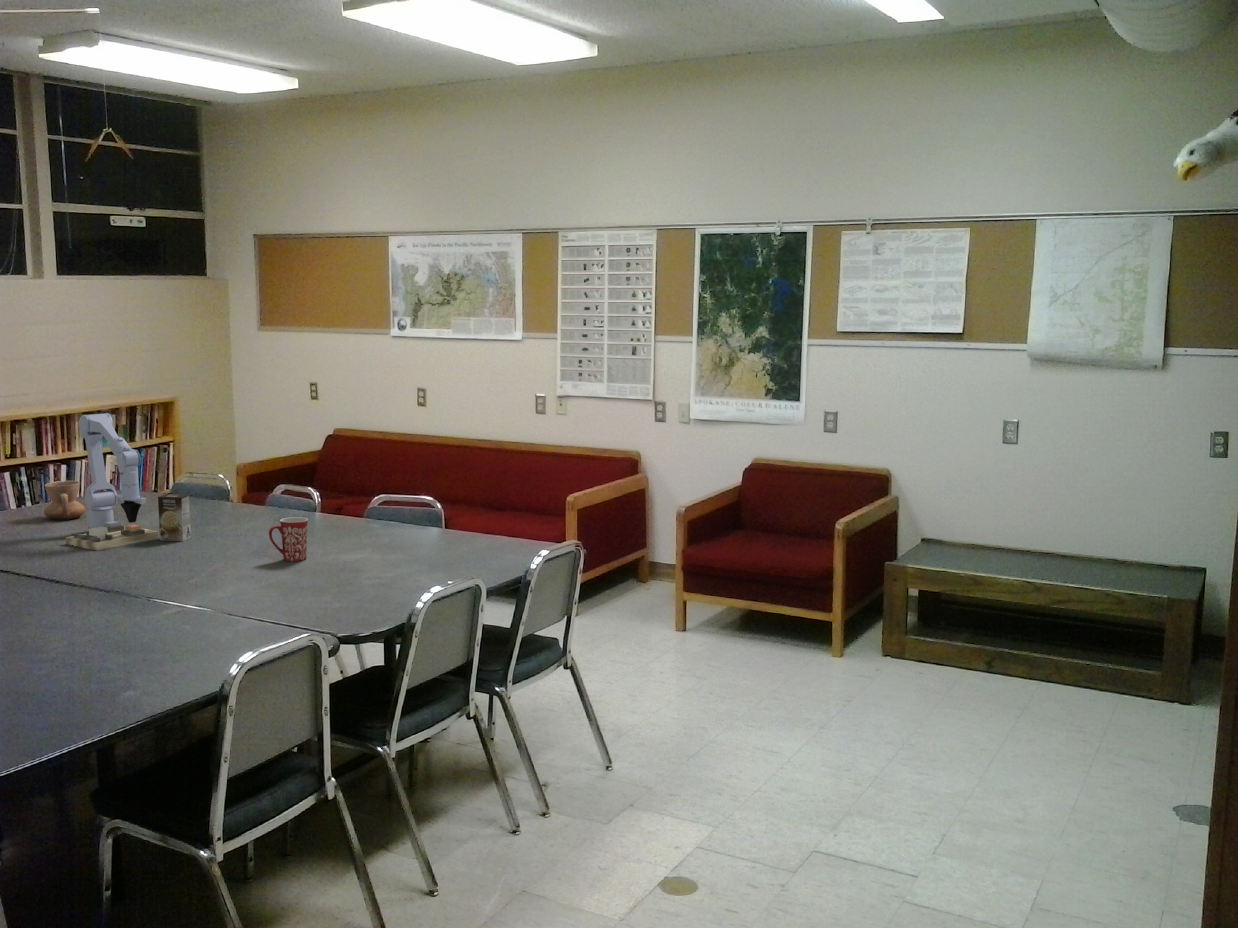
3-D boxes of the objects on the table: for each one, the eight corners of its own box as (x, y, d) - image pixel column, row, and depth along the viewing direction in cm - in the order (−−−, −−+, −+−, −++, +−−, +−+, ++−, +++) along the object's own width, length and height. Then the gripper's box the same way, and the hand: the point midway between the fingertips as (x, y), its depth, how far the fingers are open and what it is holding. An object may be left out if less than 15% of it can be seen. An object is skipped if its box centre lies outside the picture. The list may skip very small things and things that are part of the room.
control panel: (66, 544, 382) (65, 533, 381) (127, 532, 402) (126, 521, 402) (97, 550, 373) (96, 539, 372) (158, 537, 393) (157, 527, 392)
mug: (306, 555, 367) (305, 515, 366) (311, 560, 359) (310, 520, 357) (268, 558, 362) (266, 519, 360) (272, 564, 354) (270, 524, 352)
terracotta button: (125, 530, 387) (124, 526, 386) (134, 528, 390) (133, 524, 389) (131, 531, 385) (131, 527, 384) (140, 529, 388) (140, 525, 388)
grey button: (104, 526, 393) (104, 522, 392) (113, 524, 396) (113, 520, 396) (110, 527, 391) (110, 523, 391) (119, 526, 394) (119, 521, 394)
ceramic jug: (45, 515, 432) (41, 480, 430) (85, 512, 439) (82, 478, 436) (44, 525, 416) (40, 488, 414) (86, 521, 423) (83, 485, 420)
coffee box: (158, 540, 388) (156, 496, 386) (168, 537, 395) (165, 493, 392) (183, 541, 387) (181, 497, 385) (192, 537, 394) (189, 494, 391)
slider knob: (89, 540, 377) (88, 528, 376) (102, 537, 381) (102, 526, 380) (94, 541, 375) (94, 529, 375) (108, 538, 379) (107, 527, 379)
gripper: (107, 484, 385) (109, 521, 387) (132, 487, 378) (134, 526, 380) (125, 481, 391) (127, 518, 393) (150, 485, 384) (152, 522, 386)
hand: (132, 522), depth 387 cm, fingers closed
